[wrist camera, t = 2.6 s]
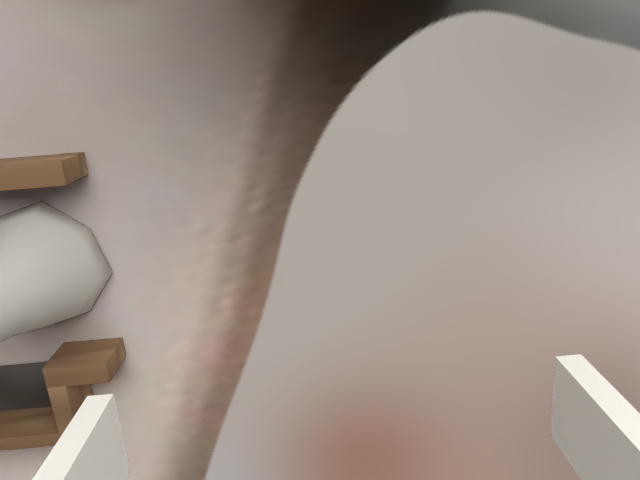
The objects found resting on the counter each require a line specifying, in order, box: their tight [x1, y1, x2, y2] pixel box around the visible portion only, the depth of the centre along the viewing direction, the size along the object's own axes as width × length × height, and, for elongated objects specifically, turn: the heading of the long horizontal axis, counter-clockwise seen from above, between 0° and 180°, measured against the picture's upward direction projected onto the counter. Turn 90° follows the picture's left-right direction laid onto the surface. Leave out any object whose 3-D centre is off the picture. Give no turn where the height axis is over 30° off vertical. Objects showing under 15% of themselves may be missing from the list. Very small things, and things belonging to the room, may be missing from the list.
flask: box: [0, 201, 112, 342], centre depth 27 cm, size 7×7×10 cm
